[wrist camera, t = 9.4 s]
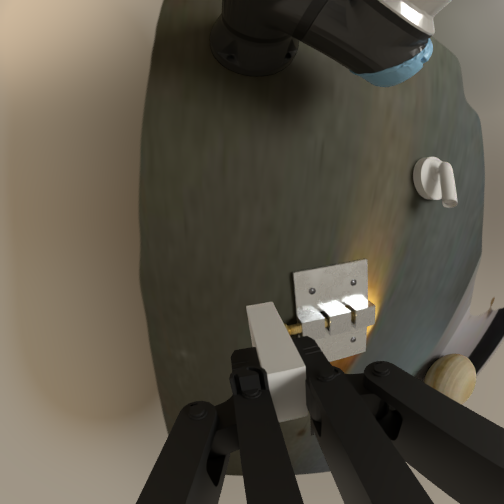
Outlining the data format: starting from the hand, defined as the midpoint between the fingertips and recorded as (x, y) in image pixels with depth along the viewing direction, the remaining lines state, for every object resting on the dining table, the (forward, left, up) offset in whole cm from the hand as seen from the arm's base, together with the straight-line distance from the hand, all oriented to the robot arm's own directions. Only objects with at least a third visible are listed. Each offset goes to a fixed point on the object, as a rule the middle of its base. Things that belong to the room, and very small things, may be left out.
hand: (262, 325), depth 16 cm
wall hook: (-7, +40, -30) cm, 50 cm away
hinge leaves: (+16, +16, -29) cm, 37 cm away
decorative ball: (+41, +47, -30) cm, 69 cm away
